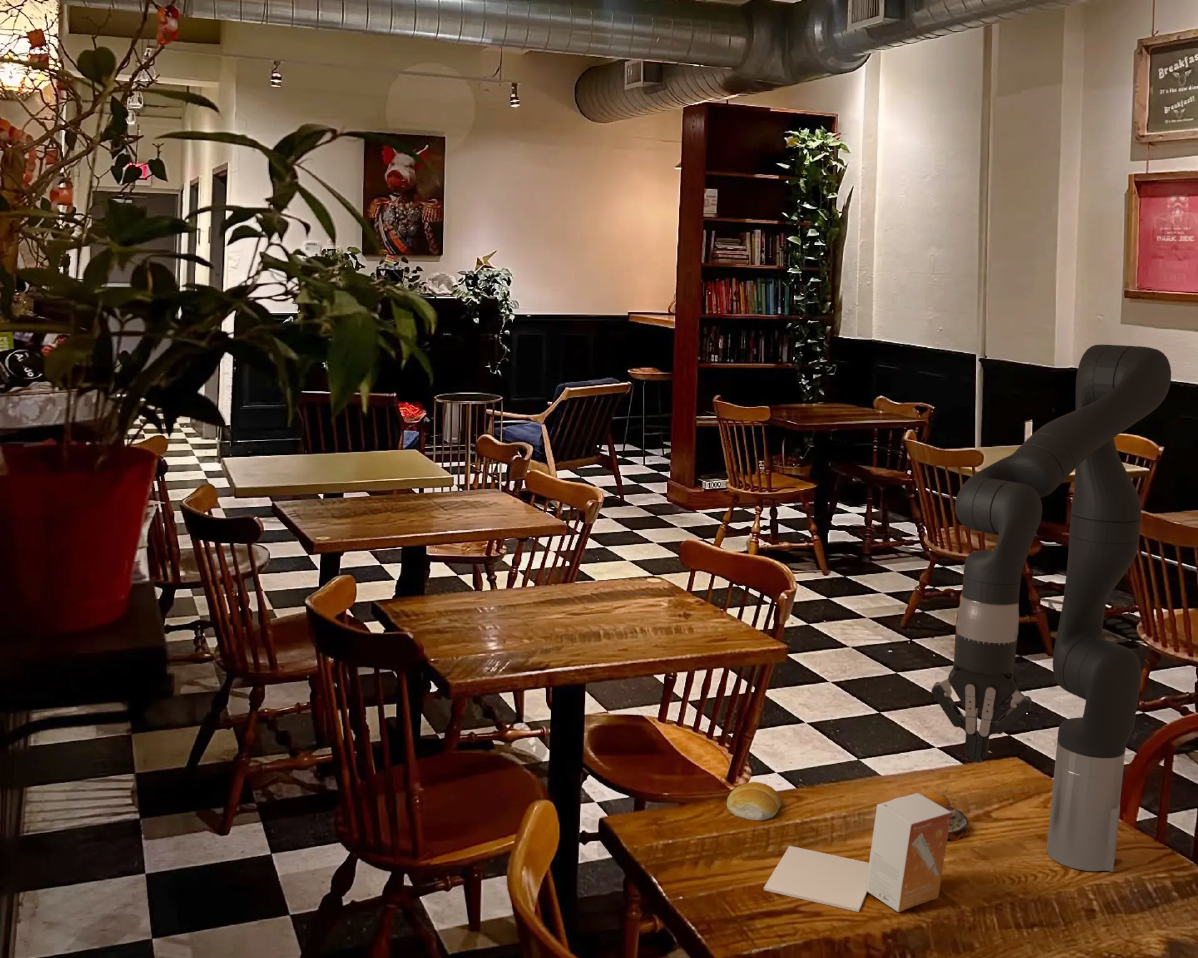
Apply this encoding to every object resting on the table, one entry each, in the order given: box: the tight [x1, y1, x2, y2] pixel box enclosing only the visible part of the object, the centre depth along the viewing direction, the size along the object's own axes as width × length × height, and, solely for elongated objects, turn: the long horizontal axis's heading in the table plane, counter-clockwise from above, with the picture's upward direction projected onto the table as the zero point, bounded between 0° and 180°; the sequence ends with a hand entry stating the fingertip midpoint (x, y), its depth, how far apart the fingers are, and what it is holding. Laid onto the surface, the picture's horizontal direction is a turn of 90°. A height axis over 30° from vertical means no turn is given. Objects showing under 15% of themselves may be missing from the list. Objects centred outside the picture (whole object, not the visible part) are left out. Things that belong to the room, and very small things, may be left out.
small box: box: [865, 792, 951, 913], centre depth 162 cm, size 8×6×13 cm
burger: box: [925, 787, 969, 842], centre depth 185 cm, size 12×12×8 cm
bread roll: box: [726, 781, 782, 821], centre depth 189 cm, size 8×9×4 cm
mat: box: [763, 845, 869, 913], centre depth 167 cm, size 13×14×1 cm
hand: (975, 759), depth 157 cm, fingers closed
